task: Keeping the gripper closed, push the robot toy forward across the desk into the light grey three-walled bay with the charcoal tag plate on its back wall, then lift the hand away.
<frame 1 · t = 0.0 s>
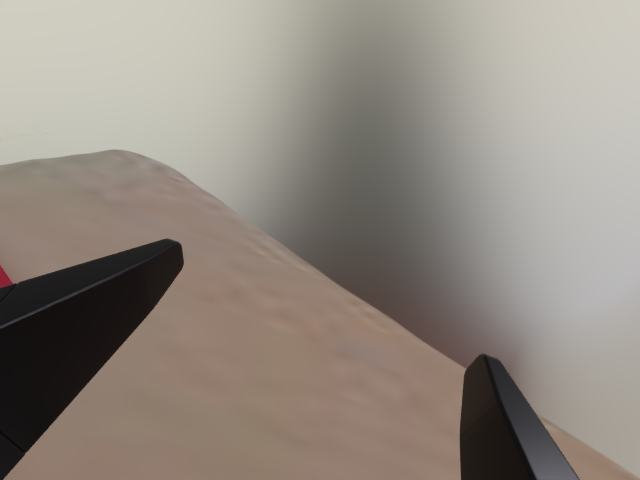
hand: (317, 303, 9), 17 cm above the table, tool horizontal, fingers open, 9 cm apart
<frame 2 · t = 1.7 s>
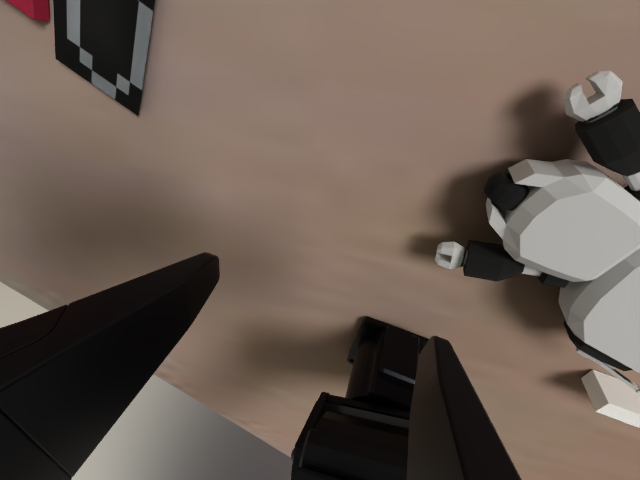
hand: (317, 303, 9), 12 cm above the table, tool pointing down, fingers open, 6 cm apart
robot toy: (604, 227, 17), on the table
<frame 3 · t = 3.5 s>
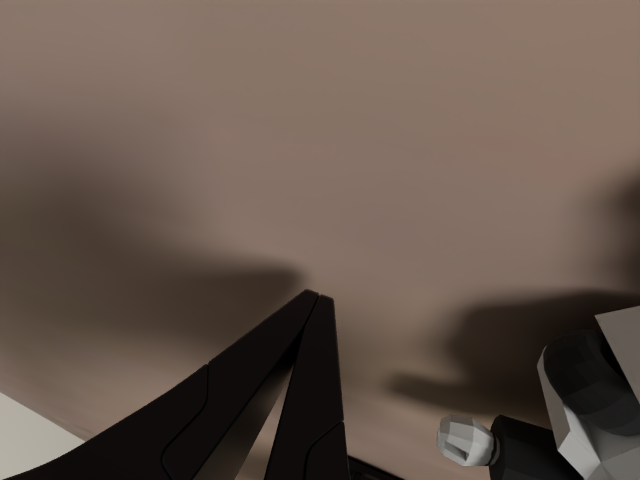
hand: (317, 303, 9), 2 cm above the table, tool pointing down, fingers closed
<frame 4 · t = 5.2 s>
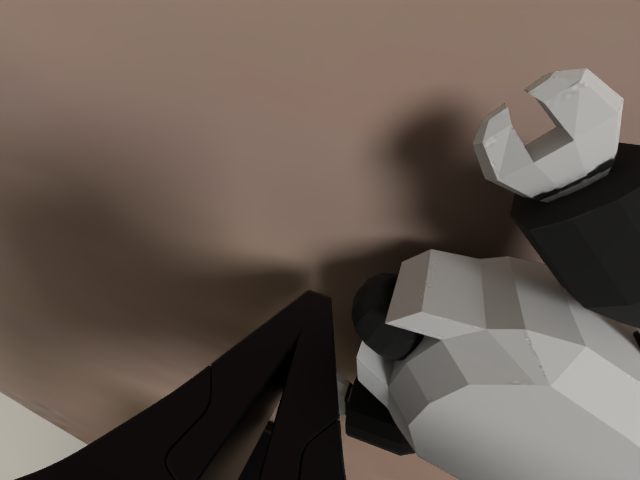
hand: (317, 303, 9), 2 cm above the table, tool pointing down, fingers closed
robot toy: (597, 358, 9), on the table, touching gripper
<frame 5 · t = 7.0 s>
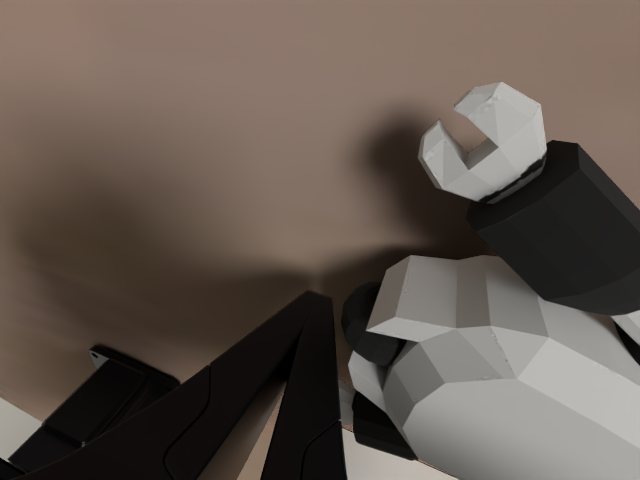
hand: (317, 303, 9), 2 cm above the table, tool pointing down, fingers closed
robot toy: (603, 347, 9), on the table, touching gripper
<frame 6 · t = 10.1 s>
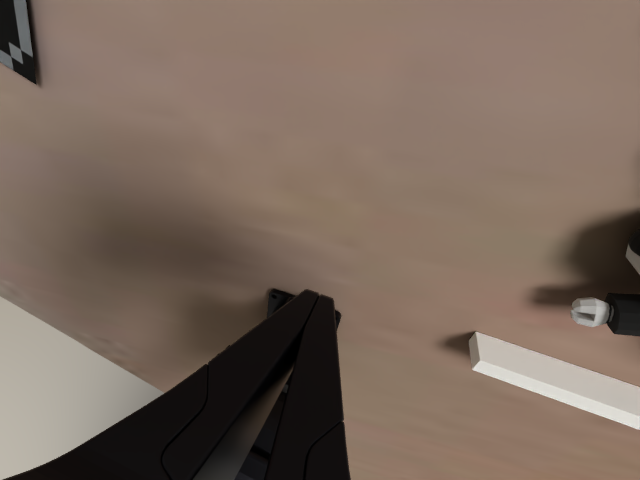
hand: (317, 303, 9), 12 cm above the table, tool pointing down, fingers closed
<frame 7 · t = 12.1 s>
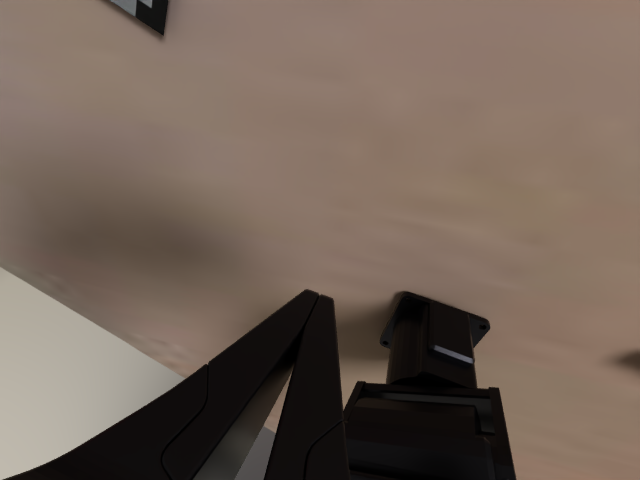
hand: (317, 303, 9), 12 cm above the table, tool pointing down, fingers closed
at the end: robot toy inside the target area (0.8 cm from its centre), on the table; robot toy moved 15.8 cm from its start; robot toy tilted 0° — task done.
